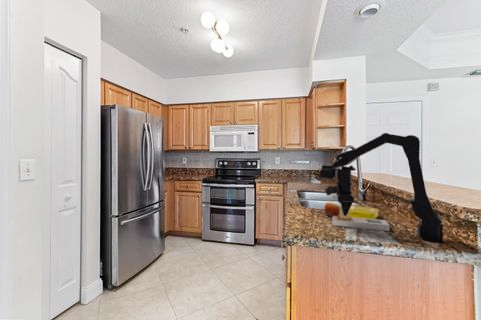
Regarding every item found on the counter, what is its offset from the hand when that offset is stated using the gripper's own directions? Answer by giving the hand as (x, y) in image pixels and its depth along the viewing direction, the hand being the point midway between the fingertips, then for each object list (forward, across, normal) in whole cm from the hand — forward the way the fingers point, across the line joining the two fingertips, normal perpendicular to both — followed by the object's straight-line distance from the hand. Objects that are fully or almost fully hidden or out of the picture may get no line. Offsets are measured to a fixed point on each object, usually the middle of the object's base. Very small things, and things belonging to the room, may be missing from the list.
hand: (344, 213), depth 102 cm
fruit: (+5, -15, -5) cm, 17 cm away
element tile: (+6, -18, +9) cm, 21 cm away
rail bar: (+5, 0, +6) cm, 8 cm away
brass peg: (+5, 0, 0) cm, 5 cm away
